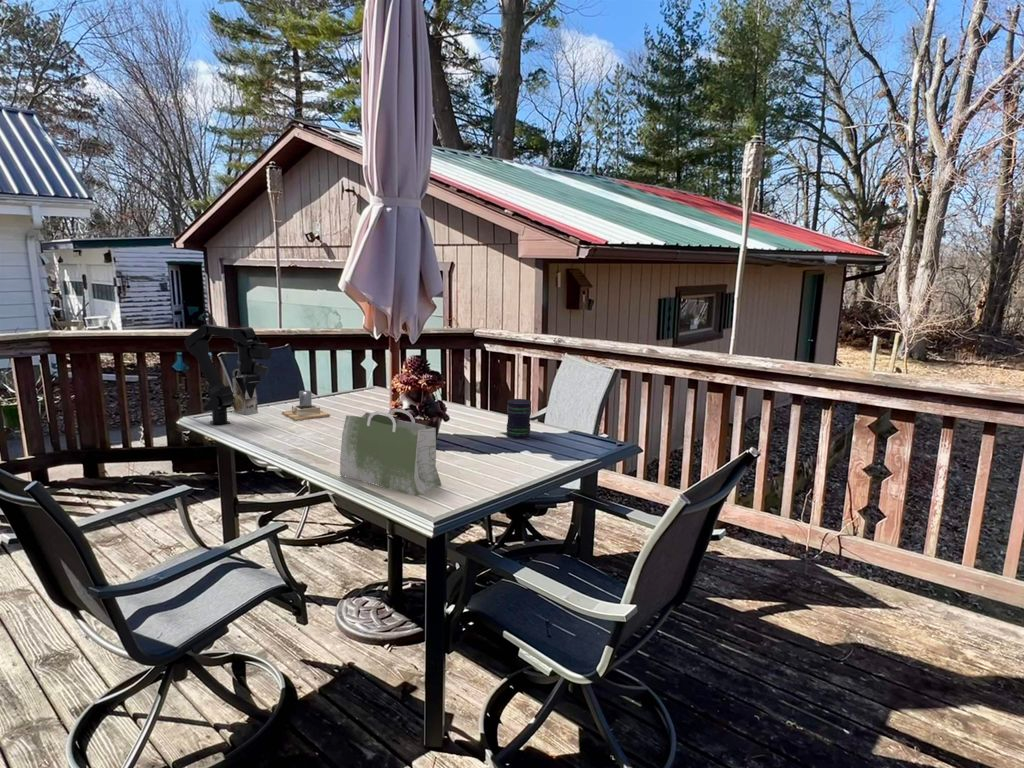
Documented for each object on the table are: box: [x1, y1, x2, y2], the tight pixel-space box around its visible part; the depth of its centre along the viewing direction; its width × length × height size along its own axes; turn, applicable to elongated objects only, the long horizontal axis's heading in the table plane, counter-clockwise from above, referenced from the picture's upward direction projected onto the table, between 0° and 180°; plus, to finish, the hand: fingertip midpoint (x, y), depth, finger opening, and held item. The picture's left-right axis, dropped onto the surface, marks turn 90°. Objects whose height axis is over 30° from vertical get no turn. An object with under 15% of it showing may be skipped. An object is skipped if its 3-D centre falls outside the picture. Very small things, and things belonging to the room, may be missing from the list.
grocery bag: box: [339, 408, 442, 496], centre depth 199 cm, size 32×14×23 cm, turn 61°
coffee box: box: [232, 377, 259, 416], centre depth 285 cm, size 9×6×16 cm
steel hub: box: [298, 390, 313, 409], centre depth 283 cm, size 5×5×10 cm
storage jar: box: [506, 398, 532, 440], centre depth 259 cm, size 10×10×15 cm
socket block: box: [281, 403, 331, 422], centre depth 284 cm, size 16×16×4 cm
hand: (247, 395), depth 259 cm, fingers open, 9 cm apart
